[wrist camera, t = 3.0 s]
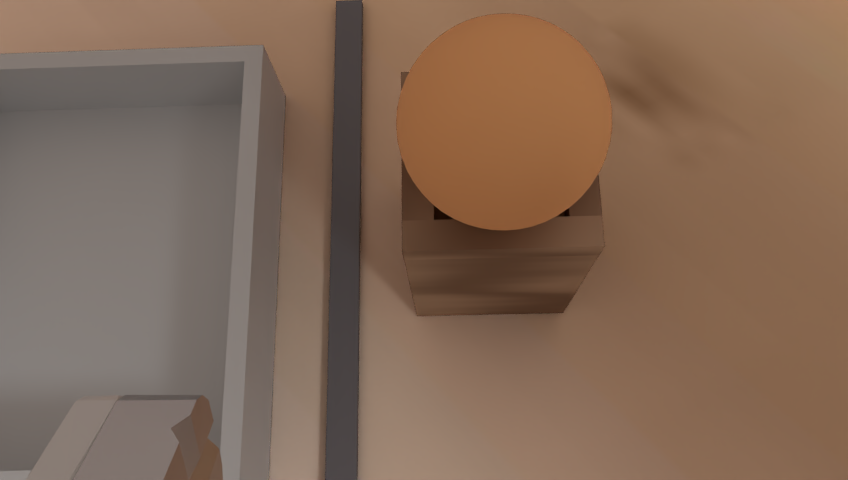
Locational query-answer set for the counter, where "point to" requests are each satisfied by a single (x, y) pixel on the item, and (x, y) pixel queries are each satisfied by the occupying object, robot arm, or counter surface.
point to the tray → (139, 239)
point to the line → (345, 248)
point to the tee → (496, 257)
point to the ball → (504, 121)
